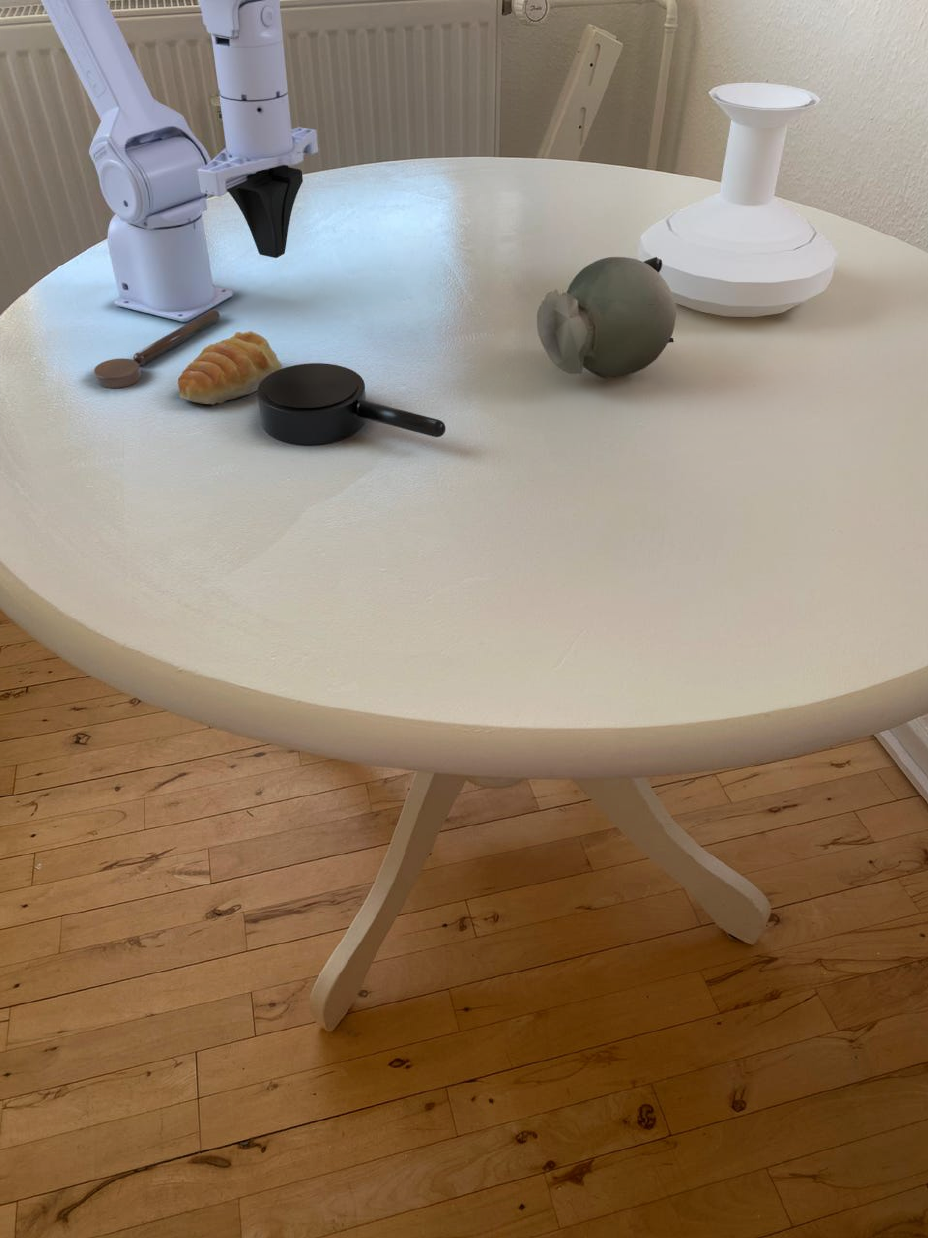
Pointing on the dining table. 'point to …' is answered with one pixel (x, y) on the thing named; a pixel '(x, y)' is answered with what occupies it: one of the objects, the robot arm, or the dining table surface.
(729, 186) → the candle holder
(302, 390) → the pan
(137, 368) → the spoon
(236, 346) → the pastry
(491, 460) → the dining table surface
